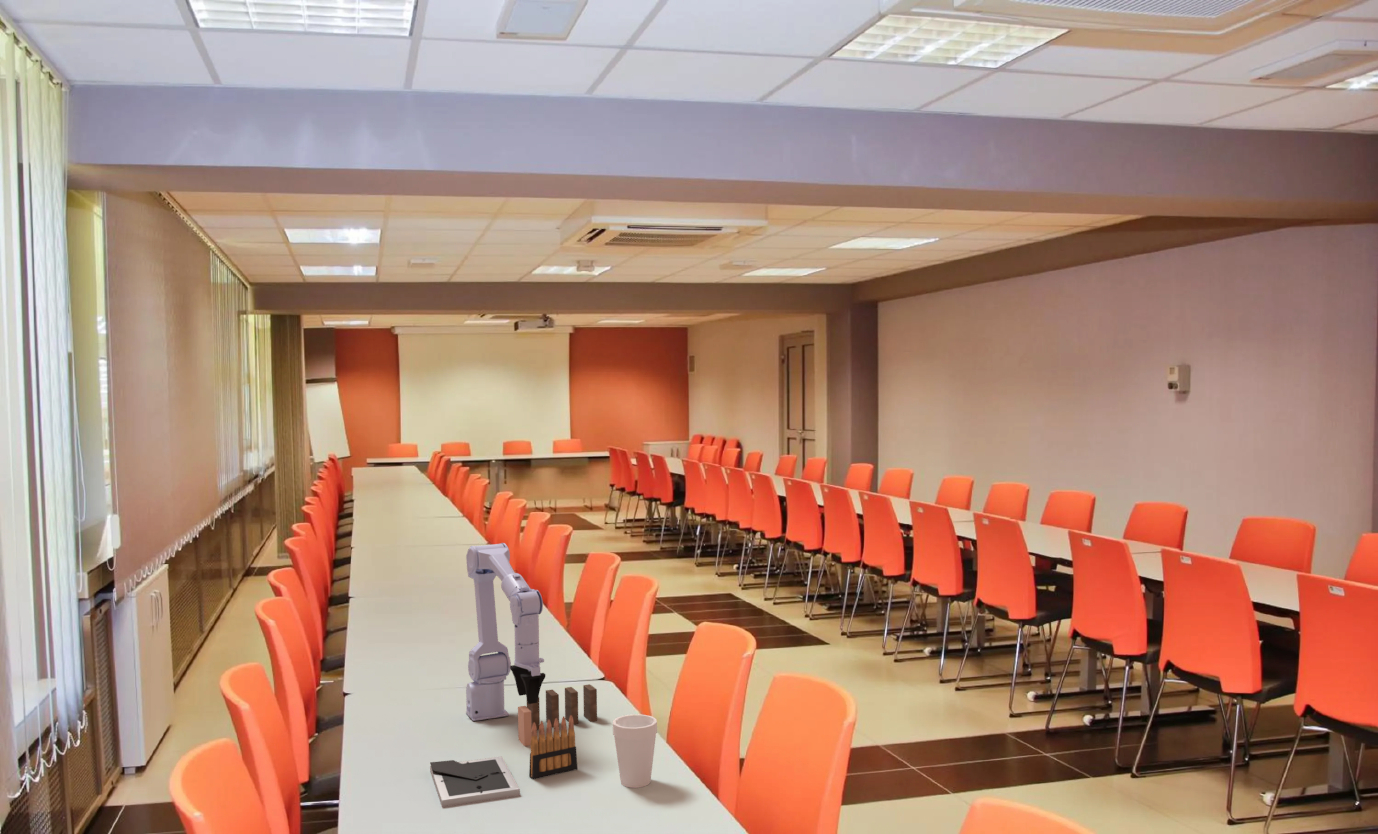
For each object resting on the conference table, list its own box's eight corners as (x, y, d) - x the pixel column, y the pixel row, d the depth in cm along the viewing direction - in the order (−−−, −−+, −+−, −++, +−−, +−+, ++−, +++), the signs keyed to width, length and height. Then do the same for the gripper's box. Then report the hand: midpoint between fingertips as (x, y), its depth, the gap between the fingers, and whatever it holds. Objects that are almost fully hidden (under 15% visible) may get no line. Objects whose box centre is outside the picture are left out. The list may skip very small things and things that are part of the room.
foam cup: (637, 770, 225) (637, 711, 225) (666, 781, 219) (666, 720, 218) (604, 782, 219) (603, 721, 218) (633, 794, 212) (632, 731, 212)
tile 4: (571, 724, 257) (571, 692, 257) (565, 718, 262) (564, 687, 262) (578, 723, 258) (577, 691, 258) (571, 717, 262) (571, 686, 262)
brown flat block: (590, 721, 259) (590, 690, 259) (583, 716, 264) (583, 685, 264) (597, 720, 260) (596, 689, 260) (590, 715, 265) (590, 684, 264)
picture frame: (430, 774, 226) (442, 810, 207) (430, 762, 226) (441, 796, 206) (501, 765, 232) (519, 798, 212) (501, 752, 231) (519, 785, 212)
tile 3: (552, 727, 255) (551, 695, 255) (546, 721, 260) (545, 690, 259) (559, 726, 256) (558, 694, 256) (553, 720, 260) (552, 689, 260)
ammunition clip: (532, 779, 221) (531, 724, 221) (529, 776, 222) (528, 721, 222) (577, 769, 227) (576, 715, 226) (573, 766, 228) (573, 713, 228)
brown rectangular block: (532, 730, 253) (532, 698, 253) (526, 724, 257) (526, 693, 257) (539, 729, 254) (539, 697, 253) (533, 723, 258) (533, 692, 258)
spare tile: (524, 746, 242) (523, 712, 242) (518, 739, 246) (517, 706, 246) (531, 744, 242) (531, 711, 242) (525, 738, 247) (525, 705, 247)
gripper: (552, 646, 240) (553, 704, 241) (534, 634, 253) (535, 688, 254) (523, 650, 237) (524, 708, 238) (506, 637, 250) (507, 692, 251)
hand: (527, 698), depth 245 cm, fingers open, 7 cm apart
